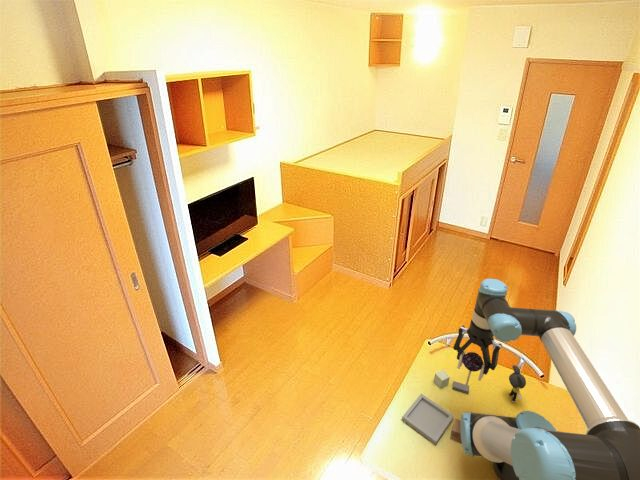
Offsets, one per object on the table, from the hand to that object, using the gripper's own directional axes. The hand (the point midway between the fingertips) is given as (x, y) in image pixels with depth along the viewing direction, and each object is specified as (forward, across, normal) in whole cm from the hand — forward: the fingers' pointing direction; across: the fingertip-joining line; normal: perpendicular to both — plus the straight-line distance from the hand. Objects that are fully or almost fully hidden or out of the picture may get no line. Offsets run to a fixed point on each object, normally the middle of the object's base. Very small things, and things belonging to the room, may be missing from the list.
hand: (469, 372), depth 124 cm
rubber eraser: (+19, +3, -8) cm, 21 cm away
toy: (+19, -13, -17) cm, 28 cm away
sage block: (+19, +10, -5) cm, 22 cm away
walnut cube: (+19, -5, +11) cm, 22 cm away
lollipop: (+7, 0, 0) cm, 7 cm away
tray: (+19, +6, +13) cm, 24 cm away
